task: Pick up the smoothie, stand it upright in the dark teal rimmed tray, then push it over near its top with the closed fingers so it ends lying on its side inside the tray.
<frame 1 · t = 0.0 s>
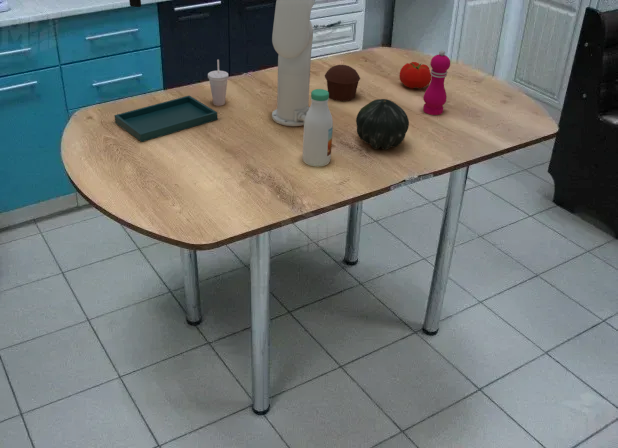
hand: (142, 1, 193), 31 cm above the table, tool pointing down, fingers open, 9 cm apart
pepper mill: (432, 111, 214), on the table
squash: (380, 143, 194), on the table
milk bottle: (316, 161, 183), on the table
tomato: (413, 86, 231), on the table
tray: (167, 121, 200), on the table
muffin: (340, 96, 221), on the table
smoothie: (219, 103, 212), on the table
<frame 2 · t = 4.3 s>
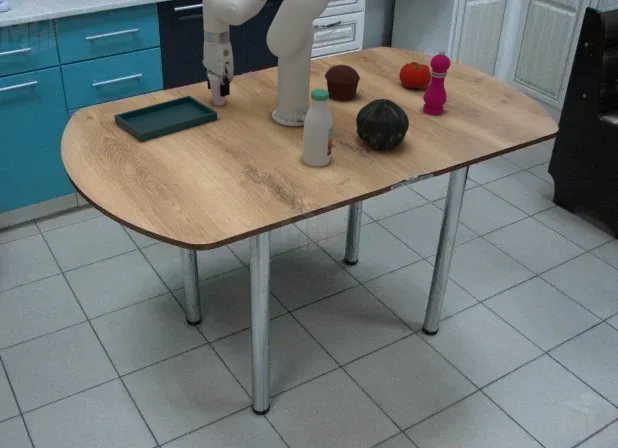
hand: (218, 91, 210), 4 cm above the table, tool pointing down, fingers closed on smoothie, 6 cm apart
smoothie: (219, 103, 212), on the table, touching gripper
everything else where it was.
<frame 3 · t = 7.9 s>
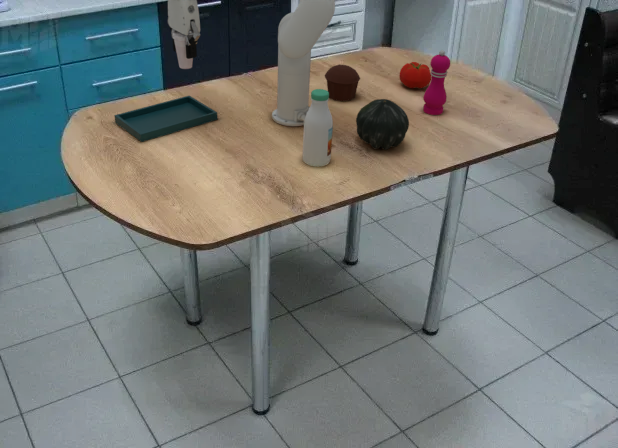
hand: (185, 53, 194), 19 cm above the table, tool pointing down, fingers closed on smoothie, 6 cm apart
smoothie: (185, 67, 196), point 15 cm above the table, touching gripper
everything else where it was.
when the fingers open (5 cm above the table, at t = 11.6 s): smoothie stays where it is, resting on tray.
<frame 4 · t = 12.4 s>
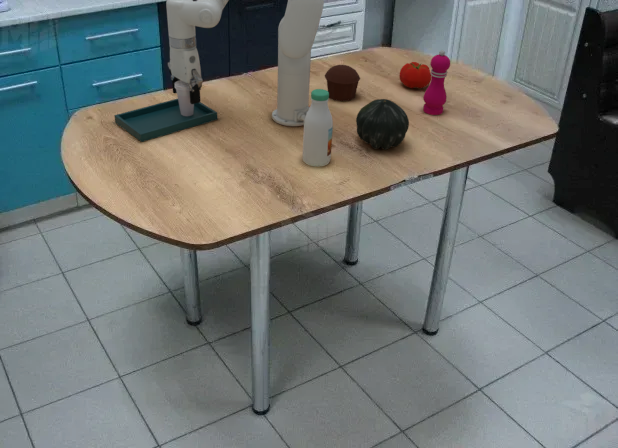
hand: (186, 97, 201), 6 cm above the table, tool pointing down, fingers open, 9 cm apart
smoothie: (187, 114, 203), resting on tray
everything else where it was.
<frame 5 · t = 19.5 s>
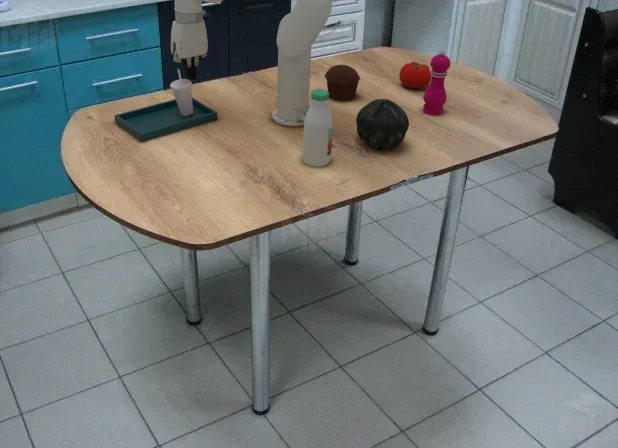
hand: (191, 78, 199), 11 cm above the table, tool pointing down, fingers closed
smoothie: (187, 113, 203), point 1 cm above the table, touching gripper, tray
everything else where it was.
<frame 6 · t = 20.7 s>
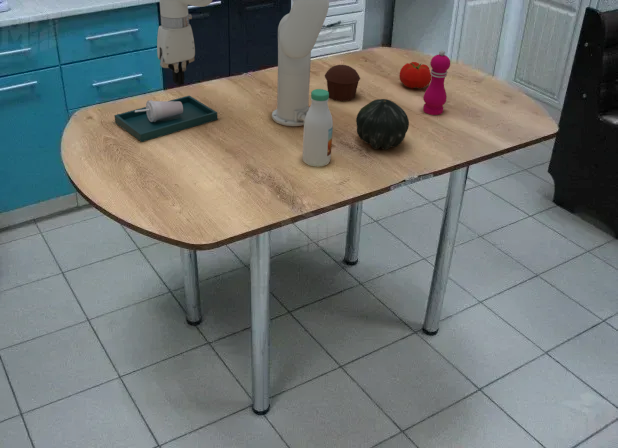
hand: (178, 83, 197), 11 cm above the table, tool pointing down, fingers closed
smoothie: (181, 107, 201), point 3 cm above the table, touching tray
everything else where it was.
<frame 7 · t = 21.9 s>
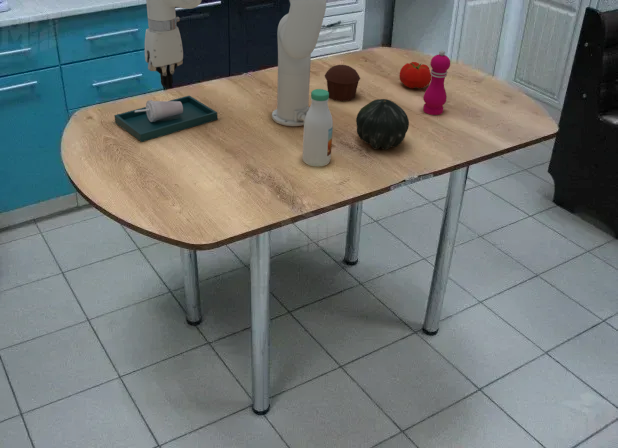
hand: (167, 86, 195), 11 cm above the table, tool pointing down, fingers closed
nothing on the table moved.
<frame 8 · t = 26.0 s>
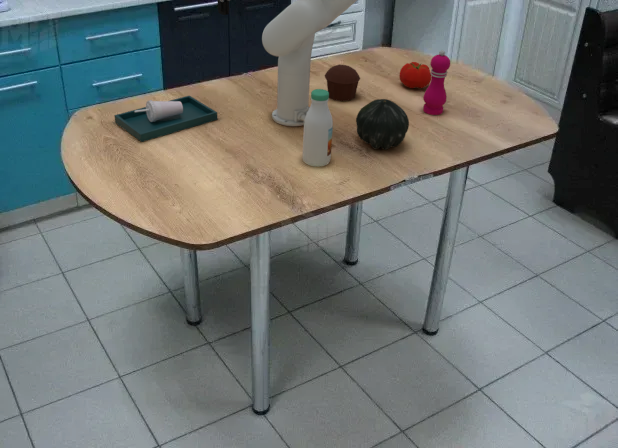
hand: (223, 13, 201), 27 cm above the table, tool pointing down, fingers closed
nothing on the table moved.
at the end: smoothie tilted 86°; smoothie inside the target area on the tray (5.0 cm from its centre), point 3.2 cm above the tray's base; the gripper is holding nothing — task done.
